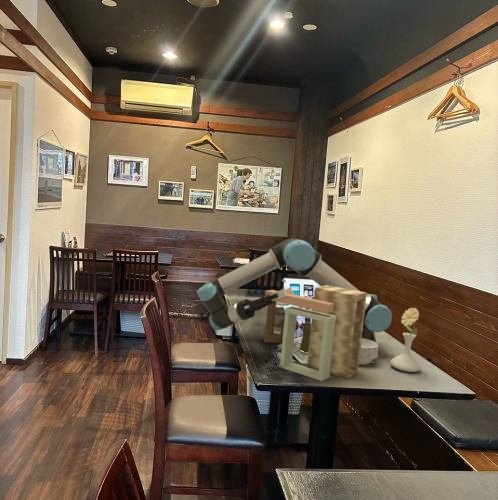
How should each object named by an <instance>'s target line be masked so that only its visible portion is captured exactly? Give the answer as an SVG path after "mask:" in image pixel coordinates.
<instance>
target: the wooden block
mask: <svg viewBox="0 0 498 500" xmlns="http://www.w3.org/2000/svg"><path fill="white" fill-rule="evenodd" d="M276 309H277V305H276V302H275V303H272V304H270V305H268V306H267V310H266V311H267V312H266V319H265V320H266V321H265V330H264V334H263V341H264V343H266V344H267V343H268V344H281V345H282V340H283V330H284V320H285V315H284V316H283V317H282V318H281V319H280V320H278V321H277V322H276V323H275V324H274V322H275V311H276ZM274 327H281V334H277V333H273V332H274Z"/></svg>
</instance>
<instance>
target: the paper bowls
mask: <svg viewBox="0 0 498 500" xmlns="http://www.w3.org/2000/svg"><path fill="white" fill-rule="evenodd" d="M378 353H379V344H378V342H377V341H376V342H374V341H371V340H368V339H364V338H362V339H361V348H360V357H359V365H368V364H370V363H372V361H373V360H375V359H377V358H378V355H379V354H378Z"/></svg>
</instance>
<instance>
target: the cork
mask: <svg viewBox="0 0 498 500" xmlns="http://www.w3.org/2000/svg"><path fill="white" fill-rule="evenodd" d="M310 330H311V324H304V325H303V326H302V332H303V333H302V337H301V342H300V346H299V349H300V350H302V351H304V352H308V349H309V340H310ZM300 350H299V351H300Z"/></svg>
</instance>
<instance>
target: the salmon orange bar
mask: <svg viewBox="0 0 498 500" xmlns="http://www.w3.org/2000/svg"><path fill="white" fill-rule="evenodd" d="M277 291H278V290H274V289H269V290H265V295H264V296H265V297H266V296H267V295H270V294H272V293H275V292H277ZM275 301H277V302H281V303H286V304H290V305H289V306H295V307H299V308H304V309H308V310H312V311H313V310H316V311H320V312H324V313H331V312H333V307H334V303H330V302H325V301H321V300H316V299H314V298H312V297H306V296H302V295H297V294H288V293H287V296H285V297H283V298H280V299H278V300H275Z"/></svg>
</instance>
